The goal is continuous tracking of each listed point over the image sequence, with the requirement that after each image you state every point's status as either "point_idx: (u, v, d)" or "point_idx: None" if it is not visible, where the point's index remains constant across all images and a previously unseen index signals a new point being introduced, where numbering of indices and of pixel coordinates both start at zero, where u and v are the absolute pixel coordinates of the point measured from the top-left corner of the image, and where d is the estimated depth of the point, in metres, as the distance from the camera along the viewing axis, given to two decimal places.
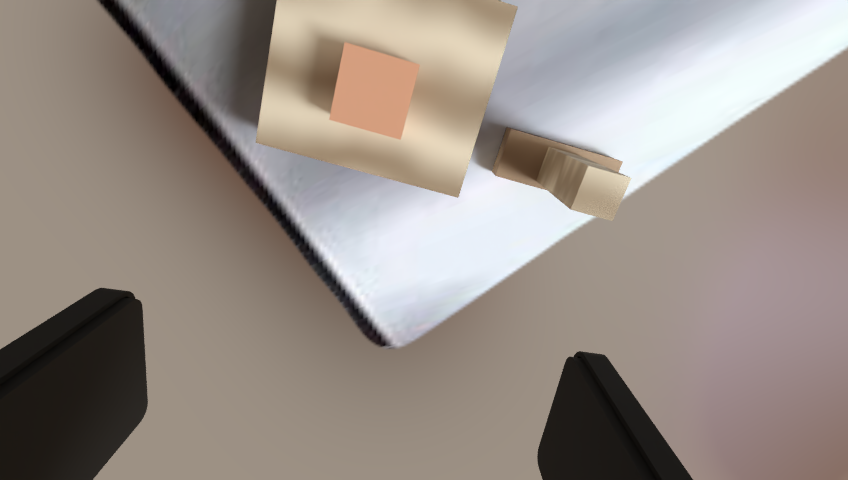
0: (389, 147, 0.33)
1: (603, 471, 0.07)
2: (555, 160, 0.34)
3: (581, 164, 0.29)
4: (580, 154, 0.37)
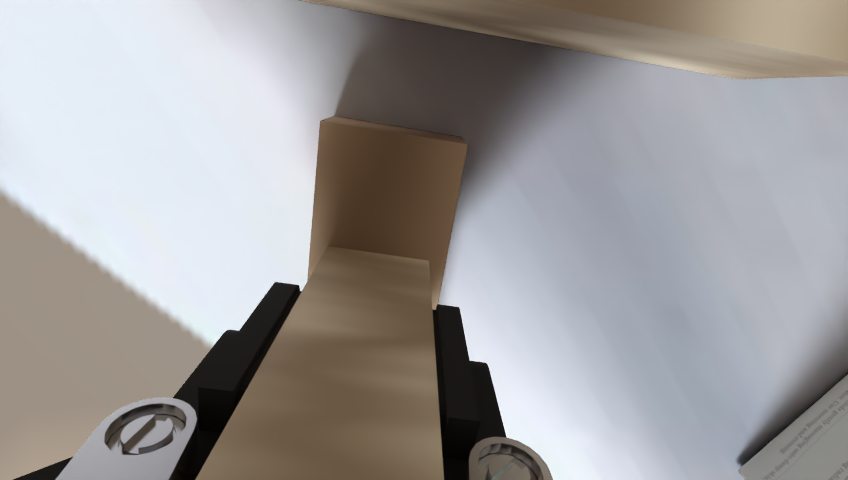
0: None
1: None
2: (402, 300, 0.10)
3: None
4: None
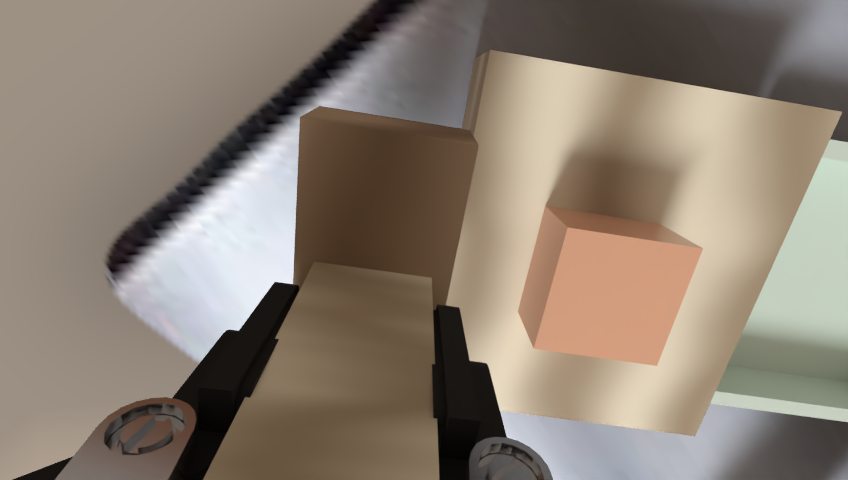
0: (496, 294, 0.20)
1: None
2: (398, 340, 0.09)
3: None
4: None
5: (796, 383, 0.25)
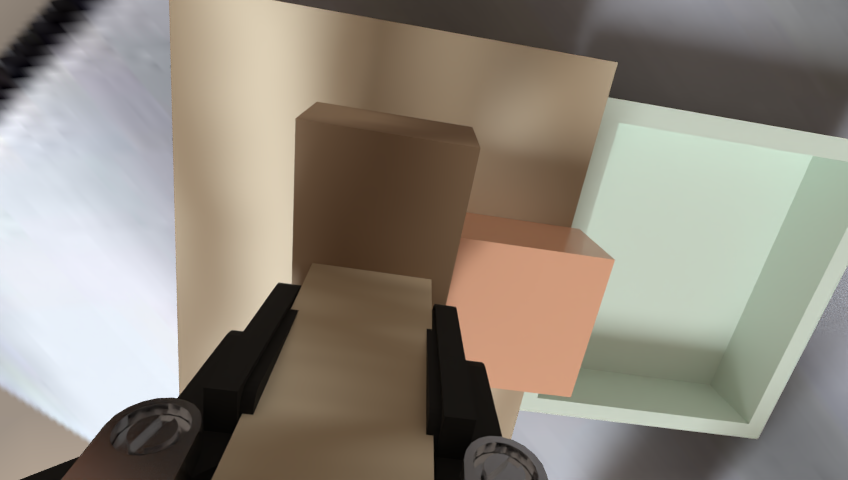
0: (241, 288, 0.16)
1: None
2: (396, 351, 0.09)
3: None
4: None
5: (645, 388, 0.22)
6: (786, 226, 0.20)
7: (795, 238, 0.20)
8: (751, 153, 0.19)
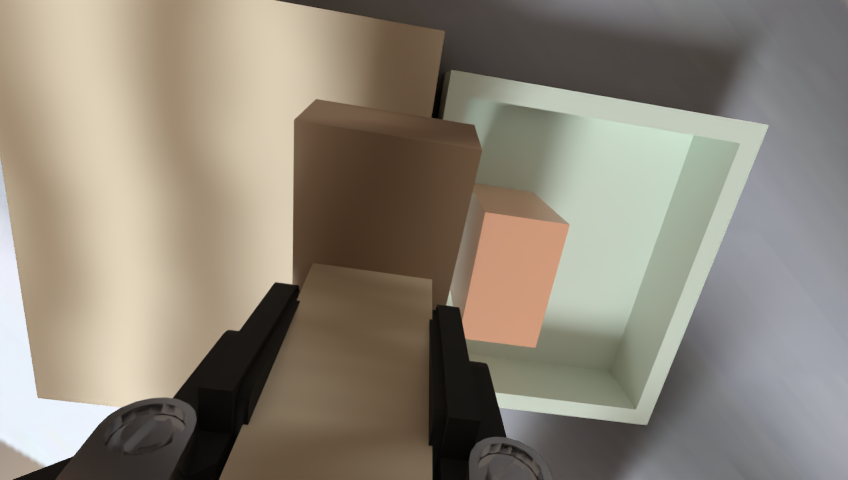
0: (84, 267, 0.16)
1: None
2: (396, 355, 0.09)
3: None
4: None
5: (538, 374, 0.22)
6: (671, 208, 0.20)
7: (677, 219, 0.19)
8: (630, 132, 0.19)
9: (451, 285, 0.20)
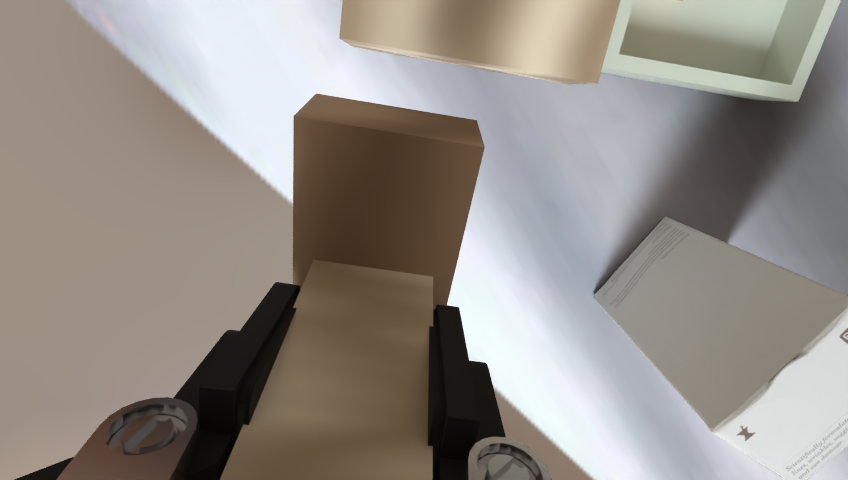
0: None
1: None
2: (397, 354, 0.09)
3: None
4: None
5: None
6: None
7: None
8: None
9: None
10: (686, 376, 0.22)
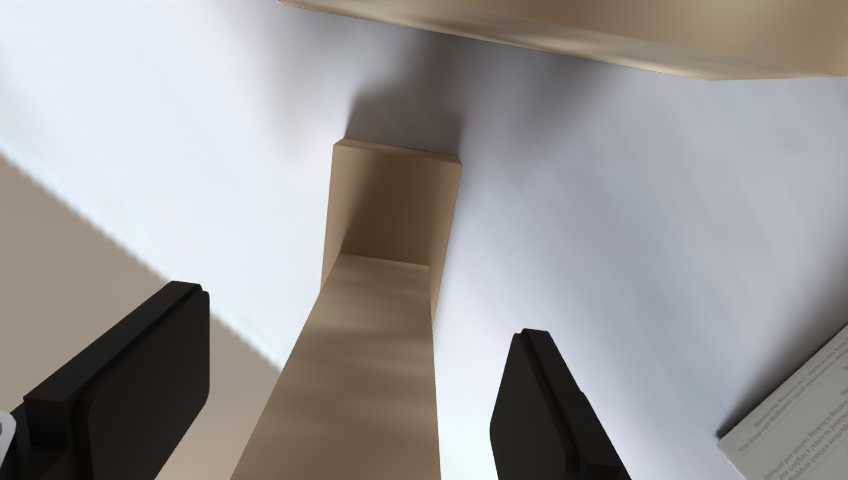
0: None
1: (533, 433, 0.08)
2: (405, 301, 0.12)
3: (433, 450, 0.07)
4: None
5: None
6: None
7: None
8: None
9: None
10: None
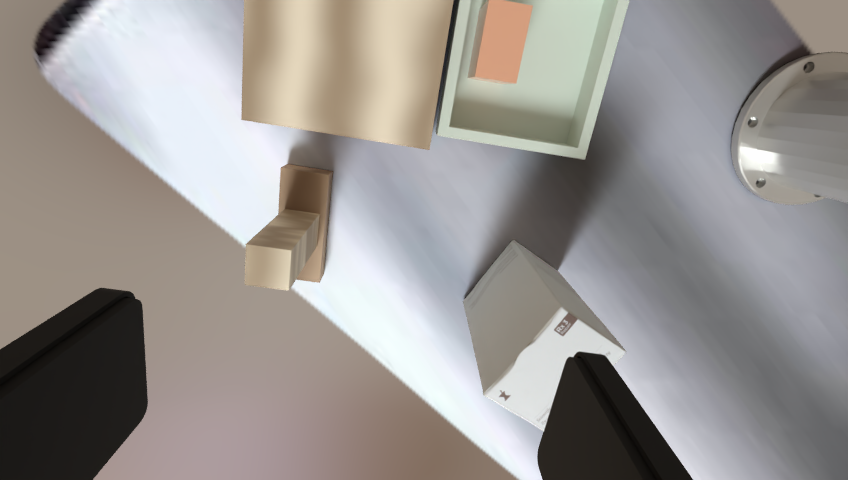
0: (278, 34, 0.30)
1: (603, 471, 0.07)
2: (303, 222, 0.35)
3: (294, 244, 0.30)
4: (318, 244, 0.39)
5: (521, 137, 0.36)
6: (597, 26, 0.34)
7: (600, 30, 0.34)
8: None
9: (469, 74, 0.35)
10: (484, 359, 0.32)
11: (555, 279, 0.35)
